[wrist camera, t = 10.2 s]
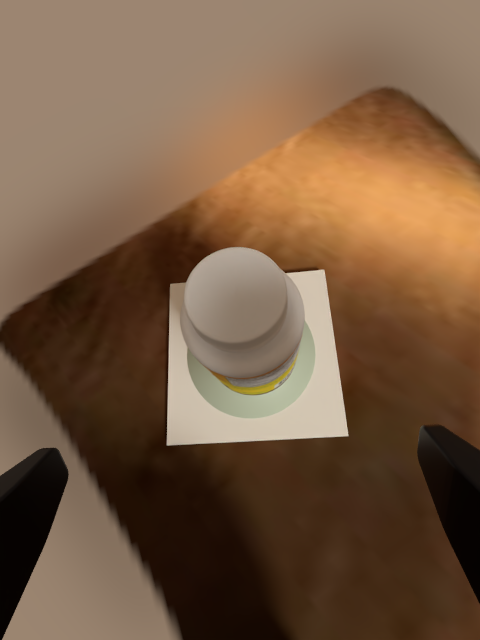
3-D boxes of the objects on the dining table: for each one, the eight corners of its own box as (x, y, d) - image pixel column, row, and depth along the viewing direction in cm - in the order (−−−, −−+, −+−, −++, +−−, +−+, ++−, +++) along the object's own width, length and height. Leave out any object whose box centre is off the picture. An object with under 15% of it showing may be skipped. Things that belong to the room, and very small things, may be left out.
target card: (346, 436, 21) (348, 435, 20) (169, 445, 22) (166, 445, 21) (323, 273, 25) (324, 269, 24) (172, 287, 26) (169, 283, 25)
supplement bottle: (209, 319, 24) (161, 236, 14) (290, 309, 23) (298, 218, 14) (214, 402, 22) (162, 372, 12) (302, 393, 21) (321, 355, 12)
